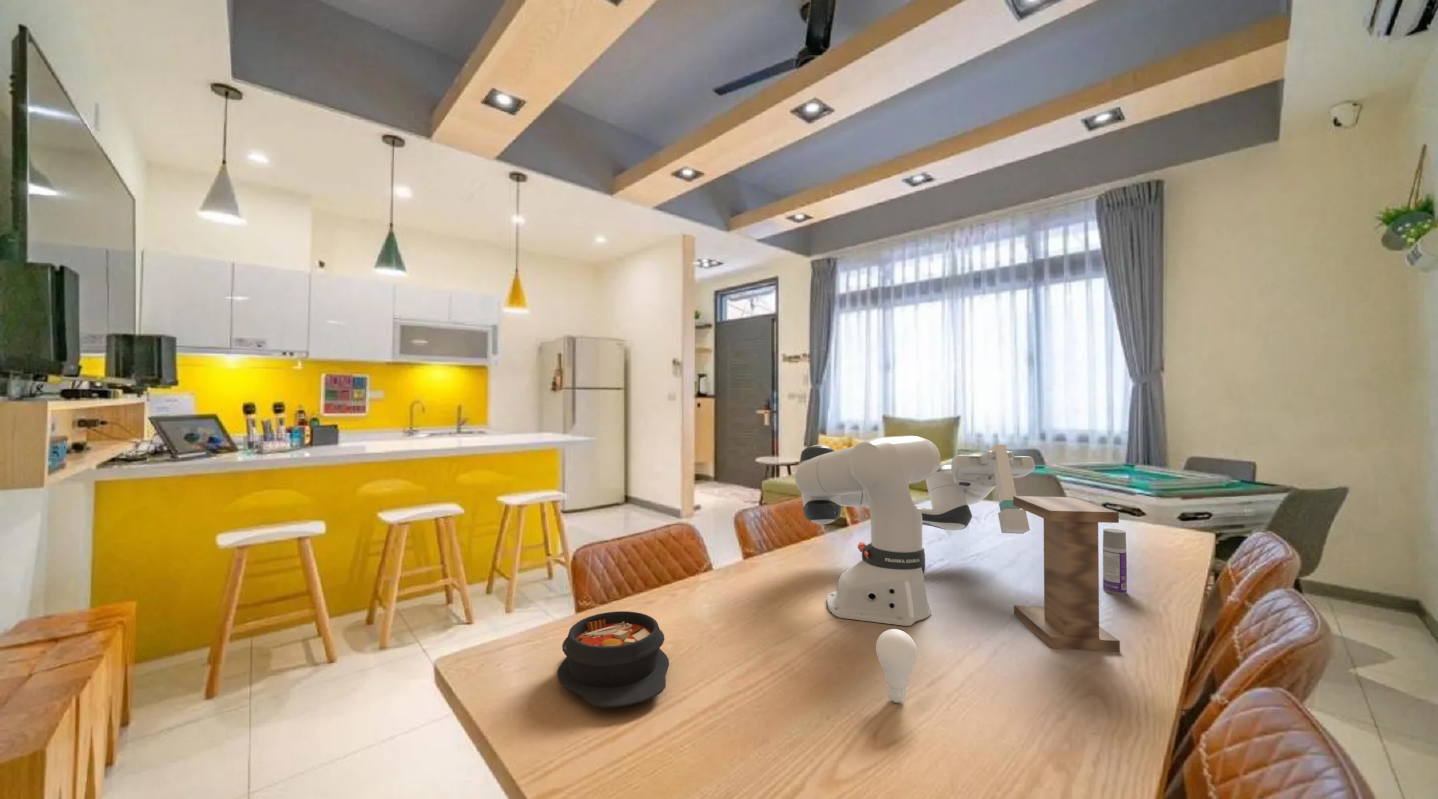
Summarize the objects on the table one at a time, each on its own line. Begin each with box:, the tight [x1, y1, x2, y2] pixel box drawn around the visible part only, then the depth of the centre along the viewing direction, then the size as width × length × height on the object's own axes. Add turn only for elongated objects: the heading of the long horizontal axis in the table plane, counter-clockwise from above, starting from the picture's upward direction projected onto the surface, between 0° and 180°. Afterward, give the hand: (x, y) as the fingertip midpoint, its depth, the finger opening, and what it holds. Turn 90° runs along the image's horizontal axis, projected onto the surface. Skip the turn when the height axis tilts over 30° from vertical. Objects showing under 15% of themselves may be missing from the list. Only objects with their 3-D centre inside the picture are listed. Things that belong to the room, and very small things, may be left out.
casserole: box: [556, 610, 670, 709], centre depth 89 cm, size 25×19×8 cm
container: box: [1102, 528, 1128, 596], centre depth 129 cm, size 5×5×15 cm
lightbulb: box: [875, 628, 918, 704], centre depth 81 cm, size 6×6×11 cm
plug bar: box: [989, 444, 1031, 535], centre depth 133 cm, size 5×22×4 cm
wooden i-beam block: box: [1013, 495, 1121, 653], centre depth 106 cm, size 12×16×26 cm
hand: (1002, 453), depth 135 cm, fingers closed on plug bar, 3 cm apart
